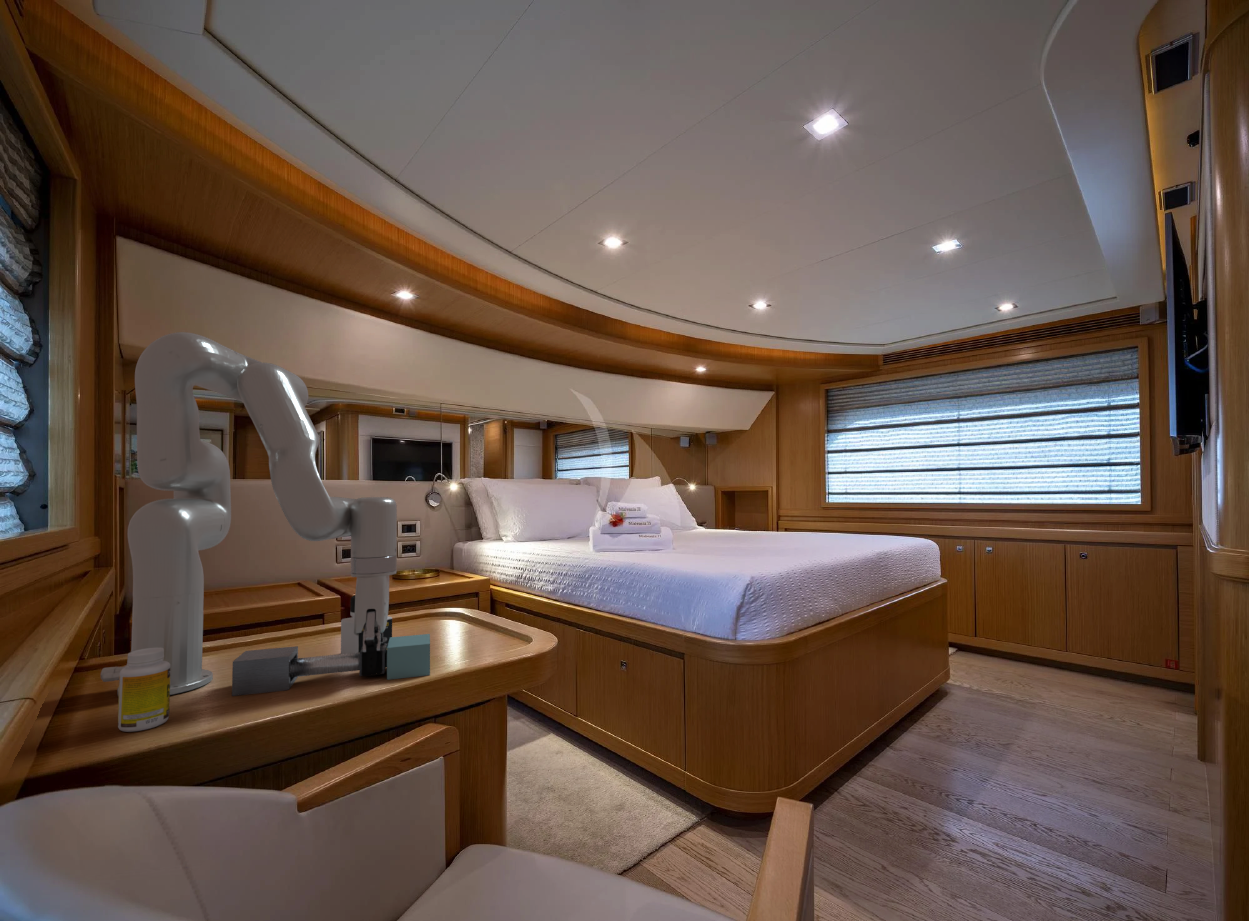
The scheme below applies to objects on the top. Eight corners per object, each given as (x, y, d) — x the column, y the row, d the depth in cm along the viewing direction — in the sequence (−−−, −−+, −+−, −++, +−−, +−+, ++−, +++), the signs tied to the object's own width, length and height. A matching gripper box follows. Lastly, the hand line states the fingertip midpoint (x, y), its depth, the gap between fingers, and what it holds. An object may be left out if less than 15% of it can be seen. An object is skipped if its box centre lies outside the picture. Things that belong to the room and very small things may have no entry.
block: (387, 679, 100) (387, 647, 100) (389, 667, 107) (389, 637, 108) (430, 675, 102) (430, 643, 102) (429, 663, 110) (429, 633, 110)
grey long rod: (266, 686, 96) (266, 661, 96) (272, 678, 100) (273, 654, 100) (408, 671, 103) (409, 648, 103) (409, 664, 107) (409, 642, 107)
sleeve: (231, 696, 93) (232, 661, 93) (244, 683, 100) (245, 650, 100) (288, 690, 96) (289, 656, 96) (297, 677, 102) (298, 646, 102)
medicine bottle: (358, 660, 112) (359, 597, 113) (340, 655, 116) (340, 594, 117) (392, 652, 118) (393, 592, 119) (373, 647, 122) (374, 589, 123)
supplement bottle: (175, 723, 82) (177, 649, 83) (124, 736, 78) (127, 658, 78) (161, 715, 85) (163, 644, 86) (112, 727, 81) (114, 652, 81)
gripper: (356, 562, 111) (355, 660, 110) (344, 573, 95) (343, 688, 94) (398, 560, 113) (398, 656, 112) (394, 570, 97) (393, 682, 96)
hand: (373, 669), depth 103 cm, fingers closed on grey long rod, 4 cm apart
